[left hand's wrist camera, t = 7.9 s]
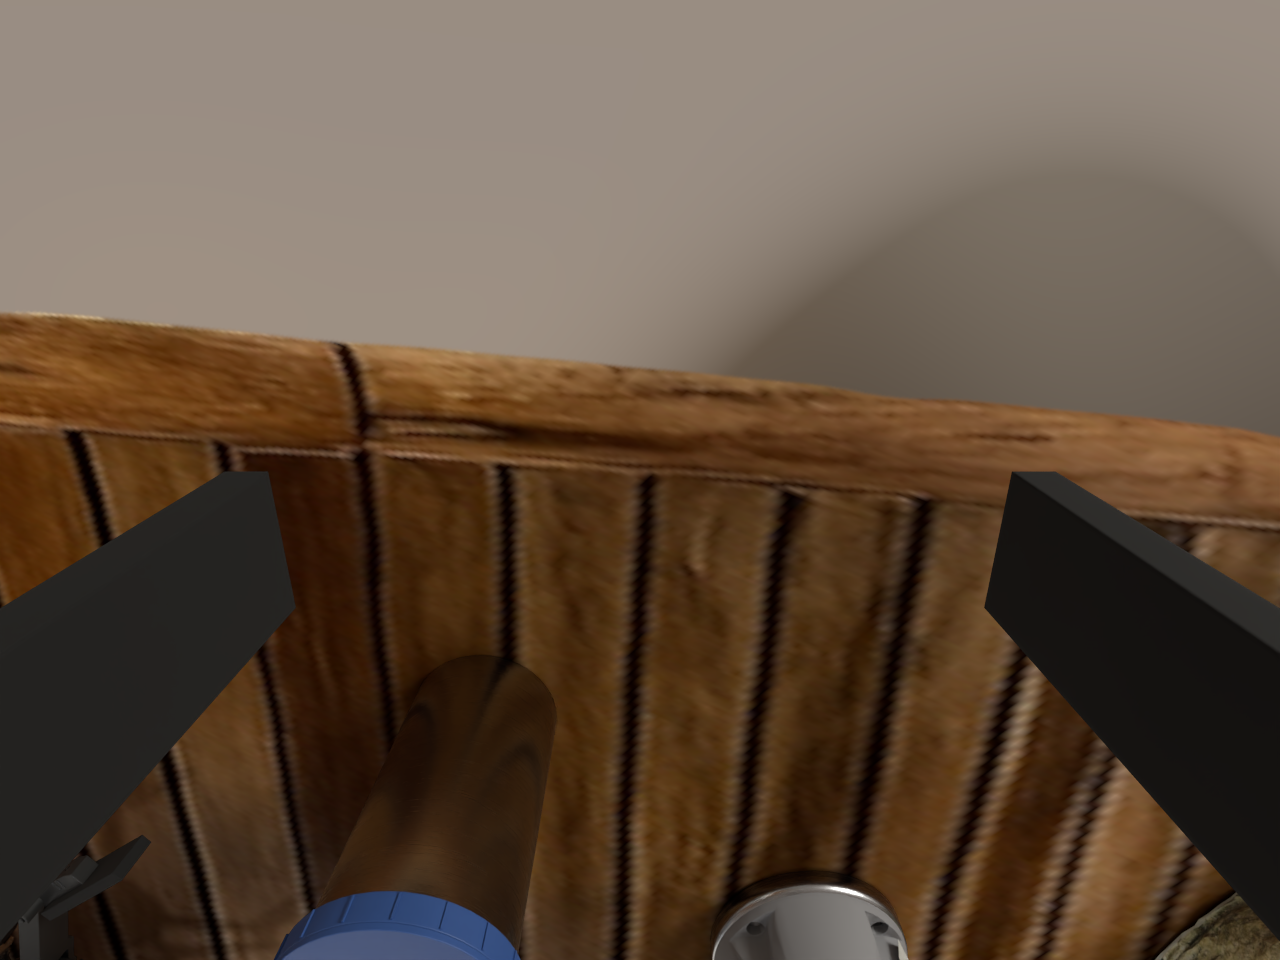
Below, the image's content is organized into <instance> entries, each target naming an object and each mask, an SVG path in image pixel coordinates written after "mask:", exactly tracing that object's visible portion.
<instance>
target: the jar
mask: <svg viewBox="0 0 1280 960" xmlns="http://www.w3.org/2000/svg"><path fill="white" fill-rule="evenodd" d="M556 717H557V715H556V708H555V704H554V701H553V698H552V696H551V694H550V692H549V691H548V689H547V687H546V686H545V685H544V684H543V682H542V681H541V680H540V679H539V678H538V677H537V676H536V675H535V674H533V673H532V672H531V671H529V670H528V669H526V668H525V667H523V666H521V665H519V664H517V663H515V662H512V661H510V660H507V659H503V658H500V657H494V656H485V655H475V656H466V657H461V658H457V659H454V660H451V661H449V662H447V663H445V664H443V665H441V666H439V667H438V668H436V669H435V670H434V671H433V672H431V673H430V674H429V675H428V676H427V678H426V679H425V680H424V681H423V683H422V684H421V686H420V688H419V690H418V692H417V694H416V697H415V699H414V701H413V703H412V705H411V707H410V709H409V711H408V714H407V716H406V718H405V720H404V722H403V724H402V726H401V729H400V731H399V733H398V735H397V737H396V739H395V741H394V743H393V746H392V748H391V750H390V752H389V754H388V756H387V758H386V760H385V763H384V765H383V767H382V769H381V771H380V773H379V775H378V778H377V780H376V782H375V784H374V786H373V788H372V790H371V792H370V795H369V797H368V799H367V801H366V803H365V805H364V807H363V809H362V812H361V814H360V816H359V818H358V820H357V822H356V824H355V826H354V829H353V831H352V833H351V835H350V837H349V839H348V841H347V844H346V846H345V848H344V850H343V852H342V854H341V856H340V858H339V861H338V863H337V865H336V867H335V869H334V871H333V873H332V875H331V878H330V880H329V882H328V884H327V886H326V888H325V890H324V893H323V895H322V897H321V899H320V901H319V903H318V905H317V907H316V908H318V907H320V906H322V905H324V904H326V903H328V902H331V901H334V900H336V899H339V898H342V897H346V896H350V895H354V894H359V893H366V892H375V891H400V892H411V893H418V894H424V895H428V896H432V897H436V898H440V899H443V900H446V901H449V902H452V903H455V904H457V905H459V906H462V907H464V908H466V909H468V910H470V911H472V912H474V913H475V914H477V915H479V916H480V917H482V918H484V919H485V920H487V921H488V922H489V923H491V924H492V925H493V926H494V927H496V928H497V929H498V930H499V931H500V932H501V933H502V934H503V935H504V936H505V937H506V938H507V939H508V941H509V942H510V943H511V945H512V946H513V947H514V949H515V950H516V951H517V954H518V951H519V945H520V939H521V933H522V927H523V921H524V915H525V908H526V902H527V896H528V890H529V884H530V878H531V872H532V866H533V860H534V854H535V848H536V842H537V836H538V830H539V824H540V818H541V812H542V806H543V800H544V794H545V788H546V782H547V776H548V770H549V764H550V758H551V752H552V746H553V740H554V734H555V728H556Z"/></svg>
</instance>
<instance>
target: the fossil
mask: <svg viewBox="0 0 1280 960" xmlns="http://www.w3.org/2000/svg"><path fill="white" fill-rule="evenodd" d="M1155 960H1280V941H1279V940H1278V939H1277V938H1276V937H1275V935H1274V934H1273V933H1272V932H1271V931H1270V930H1269V929H1268V928H1267V926H1266V925H1265V924H1264V923H1263V922H1262V921H1261V920H1260V919H1259V917H1258V916H1257V915H1256V914H1255V913H1254V912H1253V911H1252V910H1251V908H1250V907H1249V906H1248V905H1247V904H1246V903H1245V902H1244V900H1243V899H1242V898H1241V897H1240V896H1239V895H1238V894H1237V893H1235V894H1234V895H1232V896H1231V897H1230V898H1229V899H1227V900H1226V901H1224V902H1222V903H1221V904H1219V905H1218V906H1217V907H1216V908H1214V909H1213V910H1212V911H1210V912H1209V913H1208V914H1207V915H1205V916H1203V917H1202V918H1200V919H1199V920H1198V921H1197V923H1196V924H1195V926H1193V927H1191V928H1190V929H1188V930H1186V931H1185V932H1183V933H1182V934H1181V935H1180V936H1178V937H1177V938H1176V939H1175V940H1174V941H1173V942H1172V943H1171V944H1170V945H1169V946H1168V947H1167V948H1166V949H1165V950H1164V951H1163V952H1162V953H1160V955H1159V956H1158V957H1157V958H1156V959H1155Z"/></svg>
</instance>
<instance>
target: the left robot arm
mask: <svg viewBox="0 0 1280 960" xmlns="http://www.w3.org/2000/svg"><path fill="white" fill-rule="evenodd" d="M295 608H296V607H295V602H294V597H293V592H292V587H291V582H290V577H289V573H288V568H287V563H286V558H285V553H284V548H283V543H282V538H281V533H280V528H279V524H278V519H277V514H276V509H275V504H274V499H273V494H272V489H271V484H270V479H269V475H268V472H223V473H222V474H220V475H218V476H217V477H215V478H213V479H212V480H210V481H208V482H207V483H205V484H204V485H202V486H200V487H199V488H197V489H195V490H194V491H192V492H190V493H189V494H187V495H186V496H184V497H182V498H181V499H179V500H177V501H176V502H174V503H172V504H171V505H169V506H167V507H166V508H164V509H163V510H161V511H159V512H158V513H156V514H154V515H153V516H151V517H149V518H148V519H146V520H145V521H143V522H141V523H140V524H138V525H136V526H135V527H133V528H131V529H130V530H128V531H126V532H125V533H123V534H122V535H120V536H118V537H117V538H115V539H113V540H112V541H110V542H108V543H107V544H105V545H103V546H102V547H100V548H99V549H97V550H95V551H94V552H92V553H90V554H89V555H87V556H85V557H84V558H82V559H81V560H79V561H77V562H76V563H74V564H72V565H71V566H69V567H67V568H66V569H64V570H62V571H61V572H59V573H58V574H56V575H54V576H53V577H51V578H49V579H48V580H46V581H44V582H43V583H41V584H40V585H38V586H36V587H35V588H33V589H31V590H30V591H28V592H26V593H25V594H23V595H21V596H20V597H18V598H17V599H15V600H13V601H12V602H10V603H8V604H7V605H5V606H3V607H2V608H0V941H1V940H2V939H3V938H4V937H5V935H6V934H7V933H8V932H9V931H10V930H11V929H12V928H13V926H14V925H15V924H16V923H17V922H18V921H19V920H20V919H21V917H22V916H23V915H24V914H25V913H26V912H27V911H28V910H29V908H30V907H31V906H32V905H33V904H34V903H35V902H36V900H37V899H38V898H39V897H40V896H41V895H42V894H43V893H44V891H45V890H46V889H47V888H48V887H49V886H50V885H51V884H52V882H53V881H54V880H55V879H56V878H57V877H58V876H59V874H60V873H61V872H62V871H63V870H64V869H65V868H66V867H67V865H68V864H69V863H70V862H71V861H72V860H73V859H74V858H75V856H76V855H77V854H78V853H79V852H80V851H81V850H82V848H83V847H84V846H85V845H86V844H87V843H88V842H89V841H90V839H91V838H92V837H93V836H94V835H95V834H96V833H97V832H98V830H99V829H100V828H101V827H102V826H103V825H104V824H105V822H106V821H107V820H108V819H109V818H110V817H111V816H112V815H113V813H114V812H115V811H116V810H117V809H118V808H119V807H120V806H121V804H122V803H123V802H124V801H125V800H126V799H127V798H128V796H129V795H130V794H131V793H132V792H133V791H134V790H135V789H136V787H137V786H138V785H139V784H140V783H141V782H142V781H143V780H144V778H145V777H146V776H147V775H148V774H149V773H150V772H151V771H152V769H153V768H154V767H155V766H156V765H157V764H158V763H159V761H160V760H161V759H162V758H163V757H164V756H165V755H166V754H167V752H168V751H169V750H170V749H171V748H172V747H173V746H174V745H175V743H176V742H177V741H178V740H179V739H180V738H181V737H182V735H183V734H184V733H185V732H186V731H187V730H188V729H189V728H190V726H191V725H192V724H193V723H194V722H195V721H196V720H197V719H198V717H199V716H200V715H201V714H202V713H203V712H204V711H205V709H206V708H207V707H208V706H209V705H210V704H211V703H212V702H213V700H214V699H215V698H216V697H217V696H218V695H219V694H220V693H221V691H222V690H223V689H224V688H225V687H226V686H227V685H228V683H229V682H230V681H231V680H232V679H233V678H234V677H235V676H236V674H237V673H238V672H239V671H240V670H241V669H242V668H243V667H244V665H245V664H246V663H247V662H248V661H249V660H250V659H251V657H252V656H253V655H254V654H255V653H256V652H257V651H258V650H259V648H260V647H261V646H262V645H263V644H264V643H265V642H266V641H267V639H268V638H269V637H270V636H271V635H272V634H273V633H274V632H275V630H276V629H277V628H278V627H279V626H280V625H281V624H282V622H283V621H284V620H285V619H286V618H287V617H288V616H289V615H290V613H291V612H292V611H293V610H294V609H295ZM984 608H985V609H986V610H987V611H988V612H989V613H990V615H991V616H992V617H993V618H994V619H995V620H996V621H997V622H998V624H999V625H1000V626H1001V627H1002V628H1003V629H1004V630H1005V632H1006V633H1007V634H1008V635H1009V636H1010V637H1011V638H1012V639H1013V641H1014V642H1015V643H1016V644H1017V645H1018V646H1019V647H1020V648H1021V650H1022V651H1023V652H1024V653H1025V654H1026V655H1027V656H1028V657H1029V659H1030V660H1031V661H1032V662H1033V663H1034V664H1035V665H1036V667H1037V668H1038V669H1039V670H1040V671H1041V672H1042V673H1043V674H1044V676H1045V677H1046V678H1047V679H1048V680H1049V681H1050V682H1051V683H1052V685H1053V686H1054V687H1055V688H1056V689H1057V690H1058V691H1059V693H1060V694H1061V695H1062V696H1063V697H1064V698H1065V699H1066V700H1067V702H1068V703H1069V704H1070V705H1071V706H1072V707H1073V708H1074V709H1075V711H1076V712H1077V713H1078V714H1079V715H1080V716H1081V717H1082V719H1083V720H1084V721H1085V722H1086V723H1087V724H1088V725H1089V726H1090V728H1091V729H1092V730H1093V731H1094V732H1095V733H1096V734H1097V735H1098V737H1099V738H1100V739H1101V740H1102V741H1103V742H1104V743H1105V745H1106V746H1107V747H1108V748H1109V749H1110V750H1111V751H1112V752H1113V754H1114V755H1115V756H1116V757H1117V758H1118V759H1119V760H1120V761H1121V763H1122V764H1123V765H1124V766H1125V767H1126V768H1127V769H1128V771H1129V772H1130V773H1131V774H1132V775H1133V776H1134V777H1135V778H1136V780H1137V781H1138V782H1139V783H1140V784H1141V785H1142V786H1143V787H1144V789H1145V790H1146V791H1147V792H1148V793H1149V794H1150V795H1151V796H1152V798H1153V799H1154V800H1155V801H1156V802H1157V803H1158V804H1159V806H1160V807H1161V808H1162V809H1163V810H1164V811H1165V812H1166V813H1167V815H1168V816H1169V817H1170V818H1171V819H1172V820H1173V821H1174V822H1175V824H1176V825H1177V826H1178V827H1179V828H1180V829H1181V830H1182V832H1183V833H1184V834H1185V835H1186V836H1187V837H1188V838H1189V839H1190V841H1191V842H1192V843H1193V844H1194V845H1195V846H1196V847H1197V848H1198V850H1199V851H1200V852H1201V853H1202V854H1203V855H1204V856H1205V858H1206V859H1207V860H1208V861H1209V862H1210V863H1211V864H1212V865H1213V867H1214V868H1215V869H1216V870H1217V871H1218V872H1219V873H1220V874H1221V876H1222V877H1223V878H1224V879H1225V880H1226V881H1227V882H1228V884H1229V885H1230V886H1231V887H1232V888H1233V889H1234V890H1235V891H1236V893H1237V894H1238V895H1239V896H1240V897H1241V898H1242V899H1243V900H1244V902H1245V903H1246V904H1247V905H1248V906H1249V907H1250V908H1251V910H1252V911H1253V912H1254V913H1255V914H1256V915H1257V916H1258V917H1259V919H1260V920H1261V921H1262V922H1263V923H1264V924H1265V925H1266V926H1267V928H1268V929H1269V930H1270V931H1271V932H1272V933H1273V934H1274V935H1275V937H1276V938H1277V939H1278V940H1279V941H1280V608H1278V607H1277V606H1275V605H1273V604H1272V603H1270V602H1268V601H1267V600H1265V599H1263V598H1262V597H1260V596H1259V595H1257V594H1255V593H1254V592H1252V591H1250V590H1249V589H1247V588H1245V587H1244V586H1242V585H1240V584H1239V583H1237V582H1236V581H1234V580H1232V579H1231V578H1229V577H1227V576H1226V575H1224V574H1222V573H1221V572H1219V571H1218V570H1216V569H1214V568H1213V567H1211V566H1209V565H1208V564H1206V563H1204V562H1203V561H1201V560H1199V559H1198V558H1196V557H1195V556H1193V555H1191V554H1190V553H1188V552H1186V551H1185V550H1183V549H1181V548H1180V547H1178V546H1177V545H1175V544H1173V543H1172V542H1170V541H1168V540H1167V539H1165V538H1163V537H1162V536H1160V535H1158V534H1157V533H1155V532H1154V531H1152V530H1150V529H1149V528H1147V527H1145V526H1144V525H1142V524H1140V523H1139V522H1137V521H1135V520H1134V519H1132V518H1131V517H1129V516H1127V515H1126V514H1124V513H1122V512H1121V511H1119V510H1117V509H1116V508H1114V507H1113V506H1111V505H1109V504H1108V503H1106V502H1104V501H1103V500H1101V499H1099V498H1098V497H1096V496H1094V495H1093V494H1091V493H1090V492H1088V491H1086V490H1085V489H1083V488H1081V487H1080V486H1078V485H1076V484H1075V483H1073V482H1072V481H1070V480H1068V479H1067V478H1065V477H1063V476H1062V475H1060V474H1058V473H1057V472H1012V475H1011V479H1010V484H1009V489H1008V494H1007V499H1006V504H1005V509H1004V514H1003V519H1002V524H1001V528H1000V533H999V538H998V543H997V548H996V553H995V558H994V563H993V568H992V573H991V577H990V582H989V587H988V592H987V597H986V602H985V607H984ZM710 942H711V956H712V960H908V958H907V944H906V940H905V937H904V934H903V931H902V929H901V926H900V923H899V920H898V918H897V915H896V913H895V911H894V908H893V907H892V905H891V904H890V902H889V901H888V900H887V899H886V898H885V896H883V895H882V894H881V893H880V892H879V891H878V890H876V889H875V888H874V887H872V886H871V885H869V884H867V883H865V882H863V881H861V880H859V879H856V878H854V877H851V876H848V875H844V874H840V873H834V872H827V871H798V872H791V873H785V874H781V875H777V876H773V877H771V878H768V879H765V880H762V881H760V882H758V883H756V884H754V885H752V886H750V887H748V888H746V889H745V890H743V891H742V892H740V893H739V894H738V895H736V896H735V897H734V898H733V899H732V900H731V901H729V902H728V903H727V905H726V906H725V907H724V908H723V909H722V911H721V912H720V913H719V915H718V917H717V919H716V920H715V923H714V925H713V928H712V932H711V939H710Z"/></svg>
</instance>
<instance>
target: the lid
mask: <svg viewBox="0 0 1280 960" xmlns="http://www.w3.org/2000/svg"><path fill="white" fill-rule="evenodd" d="M274 960H520V958H519V956H518V954H517V951H516V950H515V949H514V947H513V946H512V945H511V943H510V942H509V941H508V939H507V938H506V937H505V936H504V935H503V934H502V933H501V932H500V931H499V930H498V929H497V928H496V927H494V926H493V925H492V924H491V923H489V922H488V921H487V920H485V919H484V918H482V917H480V916H479V915H477V914H475V913H474V912H472V911H470V910H468V909H466V908H464V907H462V906H459V905H457V904H455V903H452V902H449V901H446V900H443V899H440V898H436V897H432V896H428V895H424V894H418V893H411V892H400V891H375V892H366V893H359V894H354V895H350V896H346V897H342V898H339V899H336V900H334V901H331V902H328V903H326V904H324V905H322V906H320V907H318V908H316V909H315V910H314V909H313V910H312V911H311V912H310V913H309V914H308V915H306V916H305V917H304V918H302V919H301V920H300V921H299V922H298V923H297V924H296V925H295V926H294V928H293V929H292V930H291V932H290V933H289V934H286V936H285V938H284V940H283V942H282V944H281V946H280V948H279V950H278V952H277V954H276V956H275V958H274Z"/></svg>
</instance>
